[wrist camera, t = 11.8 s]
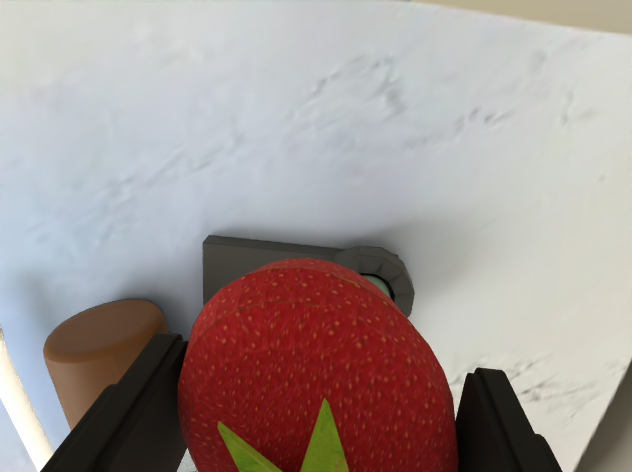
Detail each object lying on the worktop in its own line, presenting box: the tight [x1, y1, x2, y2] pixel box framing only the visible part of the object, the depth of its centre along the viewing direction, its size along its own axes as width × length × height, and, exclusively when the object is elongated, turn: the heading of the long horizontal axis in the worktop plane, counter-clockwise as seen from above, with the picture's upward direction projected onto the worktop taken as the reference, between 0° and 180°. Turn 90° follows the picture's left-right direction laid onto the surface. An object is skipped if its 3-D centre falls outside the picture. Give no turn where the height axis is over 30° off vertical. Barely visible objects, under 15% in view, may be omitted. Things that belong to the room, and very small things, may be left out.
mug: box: [43, 299, 169, 431], centre depth 32 cm, size 12×8×9 cm
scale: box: [203, 235, 415, 318], centre depth 31 cm, size 14×14×3 cm
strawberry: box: [177, 258, 459, 472], centre depth 11 cm, size 6×8×10 cm
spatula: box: [0, 326, 54, 472], centre depth 37 cm, size 28×6×3 cm, turn 10°
